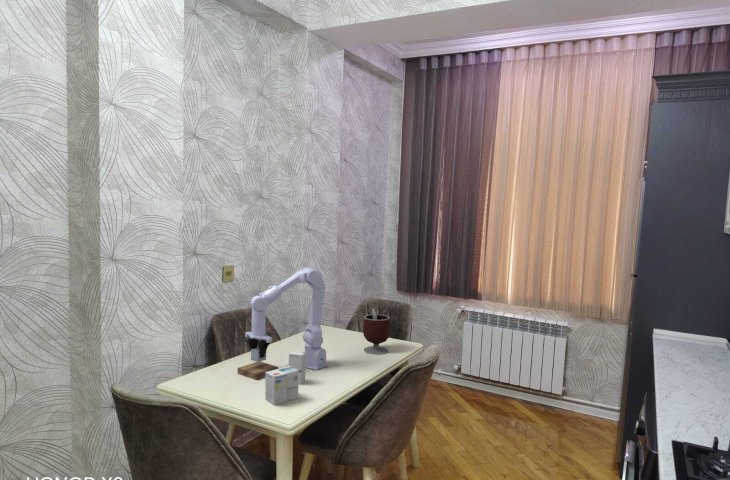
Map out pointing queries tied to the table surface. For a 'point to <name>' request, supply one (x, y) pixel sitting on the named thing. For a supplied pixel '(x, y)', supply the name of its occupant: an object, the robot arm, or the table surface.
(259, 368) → the walnut base
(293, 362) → the skincare box
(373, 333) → the mate gourd
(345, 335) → the table surface
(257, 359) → the slate cube
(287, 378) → the light bulb box
